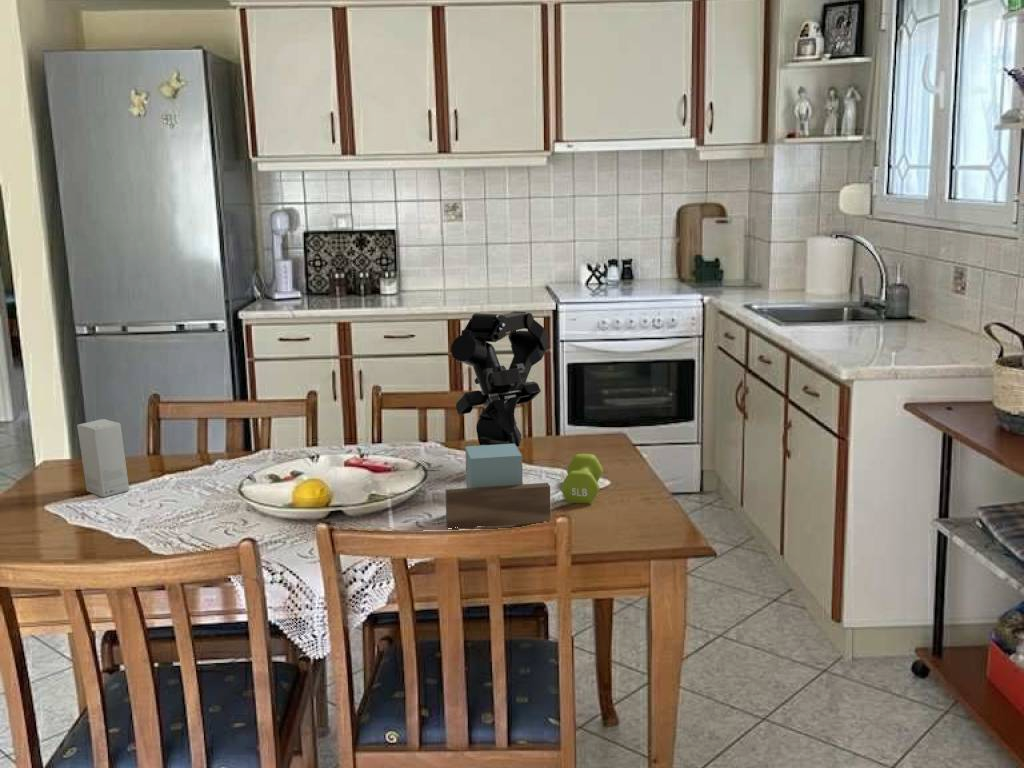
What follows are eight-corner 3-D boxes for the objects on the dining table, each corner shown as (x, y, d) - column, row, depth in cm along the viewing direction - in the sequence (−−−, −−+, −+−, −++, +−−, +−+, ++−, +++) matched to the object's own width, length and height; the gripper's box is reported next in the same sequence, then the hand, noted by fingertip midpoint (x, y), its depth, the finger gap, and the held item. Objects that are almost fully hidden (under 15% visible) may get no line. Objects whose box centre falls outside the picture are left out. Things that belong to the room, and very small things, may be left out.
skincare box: (129, 491, 219) (122, 423, 216) (100, 499, 214) (93, 429, 211) (112, 484, 225) (105, 417, 221) (83, 491, 220) (75, 423, 217)
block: (467, 508, 201) (465, 446, 198) (515, 504, 203) (514, 443, 200) (472, 523, 192) (470, 458, 190) (523, 519, 194) (522, 455, 191)
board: (446, 529, 192) (445, 489, 190) (548, 521, 195) (547, 482, 193) (447, 533, 189) (446, 493, 188) (550, 525, 192) (550, 486, 191)
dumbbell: (598, 508, 202) (598, 474, 201) (559, 507, 204) (559, 473, 202) (604, 484, 218) (604, 452, 217) (568, 483, 220) (567, 451, 218)
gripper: (465, 357, 205) (490, 425, 200) (539, 346, 215) (565, 411, 210) (444, 380, 213) (468, 446, 209) (516, 369, 223) (541, 432, 219)
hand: (512, 433), depth 211 cm, fingers closed
